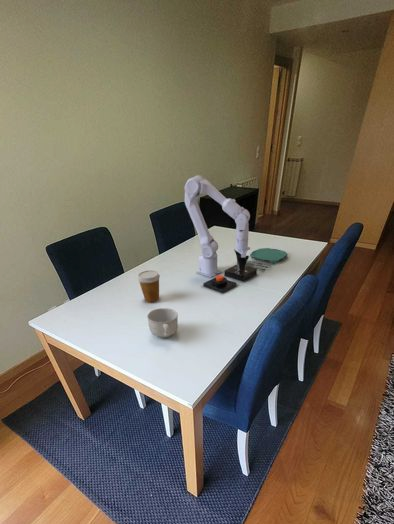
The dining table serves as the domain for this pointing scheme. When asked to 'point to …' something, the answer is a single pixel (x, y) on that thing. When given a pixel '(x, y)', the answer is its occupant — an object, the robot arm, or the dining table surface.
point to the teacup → (163, 322)
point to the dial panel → (240, 273)
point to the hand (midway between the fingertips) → (240, 266)
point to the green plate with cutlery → (266, 257)
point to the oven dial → (238, 267)
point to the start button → (219, 278)
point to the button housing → (219, 285)
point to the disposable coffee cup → (149, 285)
